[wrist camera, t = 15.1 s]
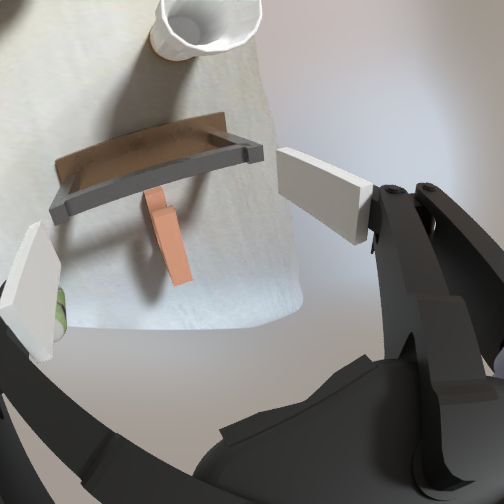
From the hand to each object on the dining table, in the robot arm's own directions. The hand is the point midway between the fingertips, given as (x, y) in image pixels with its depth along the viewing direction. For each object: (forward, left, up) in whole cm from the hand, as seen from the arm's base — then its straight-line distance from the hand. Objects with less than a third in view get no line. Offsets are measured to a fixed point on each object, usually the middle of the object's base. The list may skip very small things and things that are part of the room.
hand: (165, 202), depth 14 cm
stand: (+3, -3, -34) cm, 34 cm away
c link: (+9, -13, -34) cm, 37 cm away
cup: (+2, +17, -34) cm, 38 cm away
